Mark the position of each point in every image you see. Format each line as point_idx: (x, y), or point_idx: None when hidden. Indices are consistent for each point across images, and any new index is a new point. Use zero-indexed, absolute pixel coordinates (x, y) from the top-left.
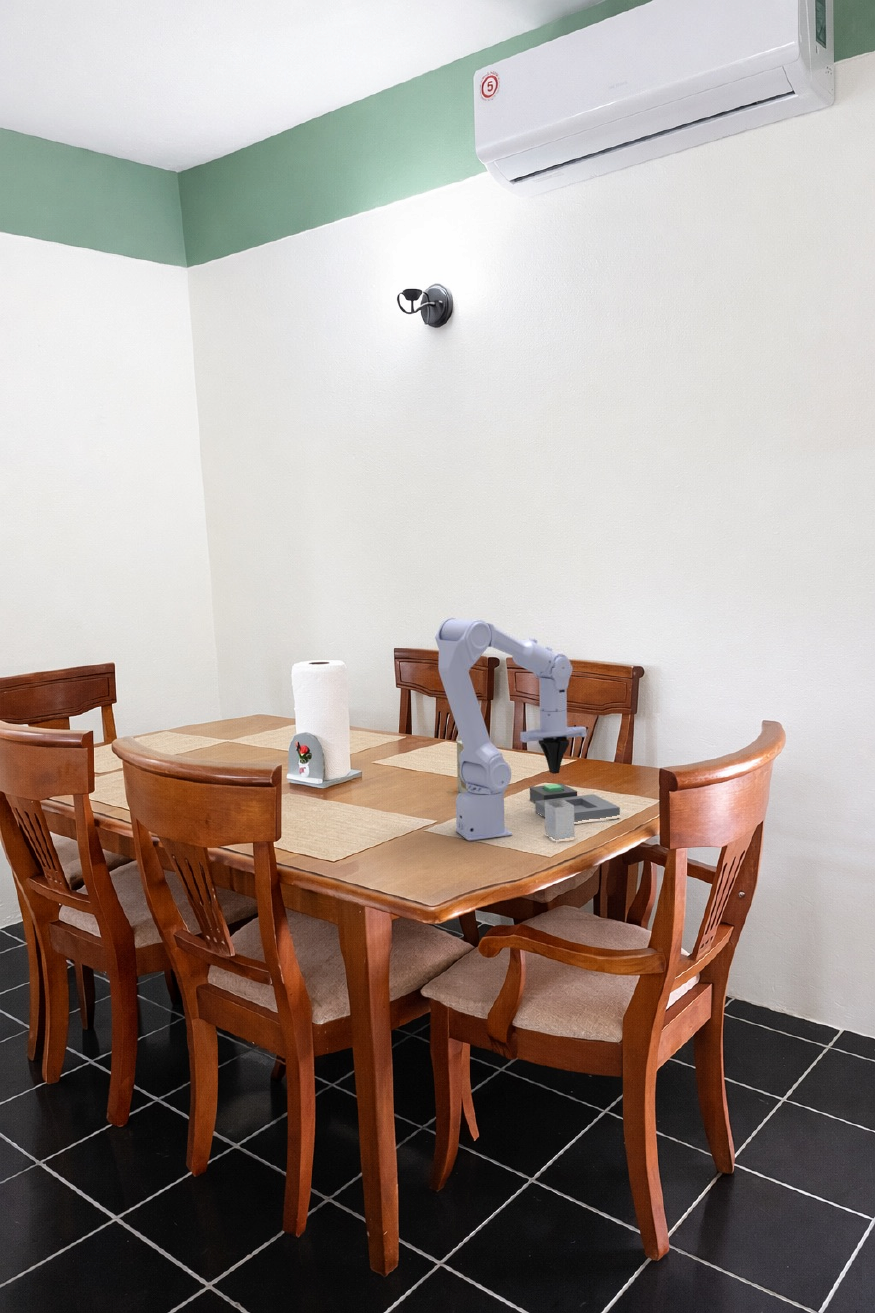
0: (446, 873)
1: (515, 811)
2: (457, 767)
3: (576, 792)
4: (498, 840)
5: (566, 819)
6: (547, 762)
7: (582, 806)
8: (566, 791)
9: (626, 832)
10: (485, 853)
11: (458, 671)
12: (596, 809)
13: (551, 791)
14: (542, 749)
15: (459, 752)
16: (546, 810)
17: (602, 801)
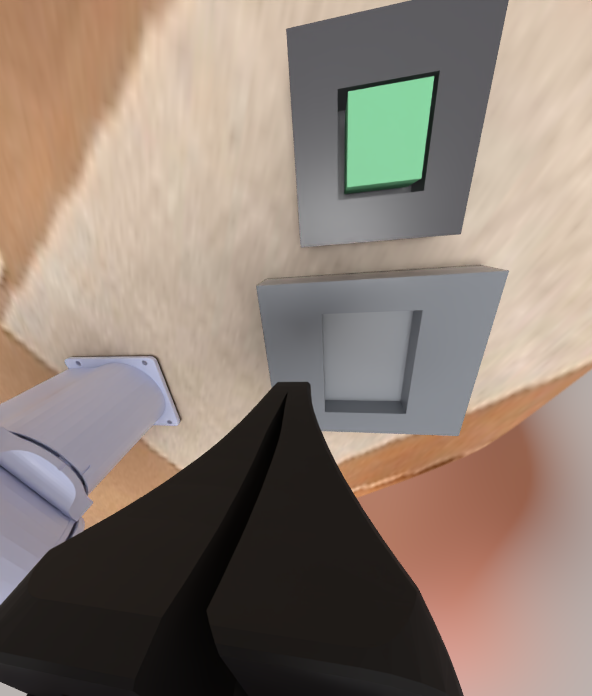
0: (95, 500)
1: (211, 241)
2: None
3: (454, 233)
4: (156, 430)
5: None
6: (252, 411)
7: (407, 321)
8: (416, 217)
9: (392, 478)
10: (137, 468)
11: None
12: (388, 428)
13: (355, 188)
14: (165, 487)
15: None
16: None
17: (459, 372)
